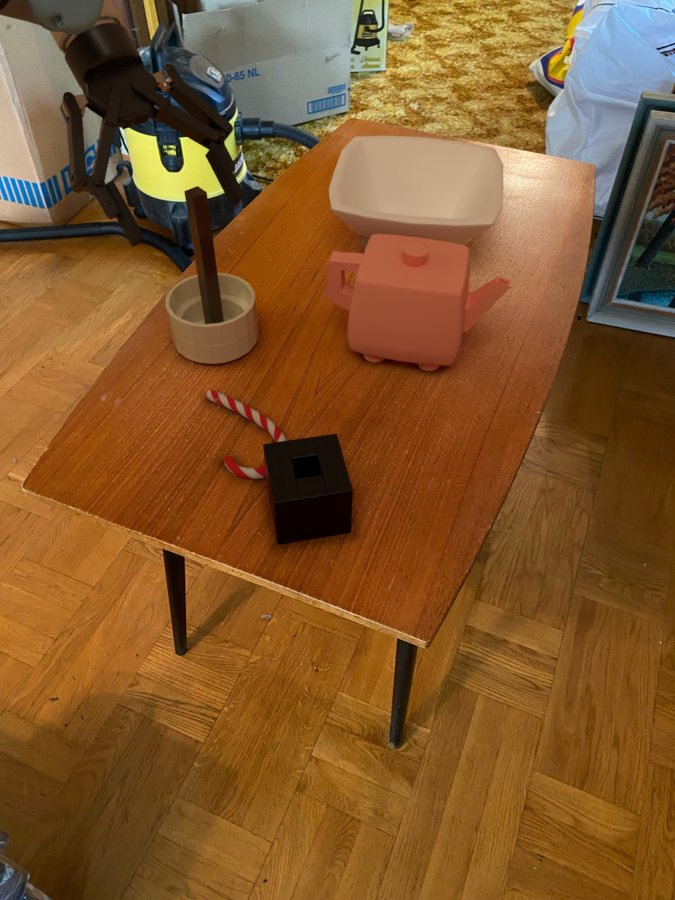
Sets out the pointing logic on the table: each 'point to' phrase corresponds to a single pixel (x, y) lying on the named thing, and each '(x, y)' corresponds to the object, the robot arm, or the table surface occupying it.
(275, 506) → the stick stand
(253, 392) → the table surface
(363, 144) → the bowl
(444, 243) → the teapot
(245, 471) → the candy cane
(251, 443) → the table surface
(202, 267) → the stick
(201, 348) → the mixing bowl
